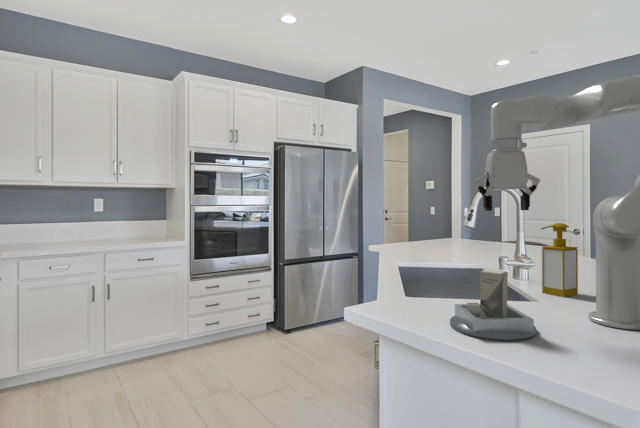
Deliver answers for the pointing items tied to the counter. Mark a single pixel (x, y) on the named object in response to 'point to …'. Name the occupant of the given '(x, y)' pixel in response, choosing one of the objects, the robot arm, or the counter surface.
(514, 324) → the disc with square frame
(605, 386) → the counter surface
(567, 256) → the soap bottle
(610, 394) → the counter surface
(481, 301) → the box
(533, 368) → the counter surface
